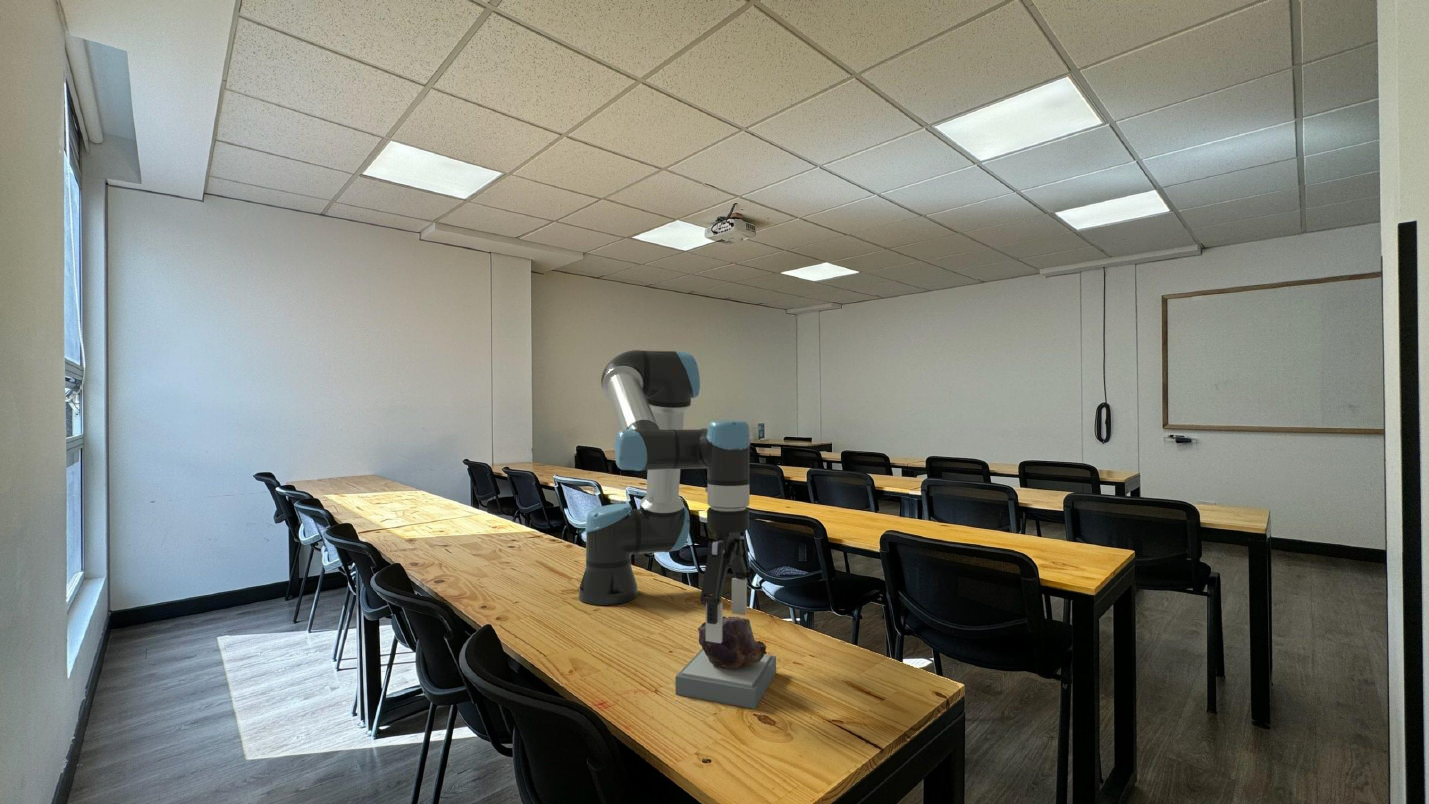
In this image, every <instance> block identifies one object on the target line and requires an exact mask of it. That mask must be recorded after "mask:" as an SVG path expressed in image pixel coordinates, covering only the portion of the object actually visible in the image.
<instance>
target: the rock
mask: <svg viewBox="0 0 1429 804" xmlns="http://www.w3.org/2000/svg"><path fill="white" fill-rule="evenodd" d="M697 631H698V643H699V645H700V646H701V648H703V650H704V652H705V654H706V656H708V659H709V661H710V663H712V664H713V665H714V666H718V667H721V668H722V669H725V668H728V669H731V668H740V667H741V666H742V665H749V664H752V663H758V662H760V661H761V659H762V658H763V657H764V654H766V650H767V645H766V644H765V642H763V641H761V640H758V641H756V639H755V636H754V632H753V630H752V626H751V620H750V619H748V618H744V617H742V618H741V617H739V616H728V617H726V616H725V615H724V616H723V617H722V643H715V642H709V641H706V621H703V623H702V624H701V625H700V626H699V627H698V628H697Z"/></svg>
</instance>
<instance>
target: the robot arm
mask: <svg viewBox="0 0 1429 804" xmlns="http://www.w3.org/2000/svg"><path fill="white" fill-rule="evenodd" d="M600 383H601V384H600V385H601V389H602V392H603V395H604V396H605V397H606V398H607V399H608V400H609V401H610V402H611V406H612V409H613V412H614V416H615V419H616V422H617V426H618V428H619V431H617V433H616V435H615V439H614V457H615V464H616V466H617V468H618V469H619V470H622V471H636V472H640V471H647V478H646V495H645V496H644V497H643V498H642V499H641V500H640V501H639V508H636V509H635V508H634V509H633V508H632V505H631V504H630V503H613V504H607V505H602V506H599V507H596V508H593V509H591V510H590V511H589V512H588V513H587V515H586V522H585V534H586V536H585V537H586V539H585V569H584V572H583V575H582V578H581V582H580V584H579V587H578V599H579V601H581V602H583V603H585V604H589V605H595V606H608V605H609V606H610V605H620V604H624V603H627V602H630V601H633V600H635V598H637V597H638V592H639V591H638V587H639V586H638V583H637V580H636V576H635V573H634V570H633V567H632V555H641V554H654V553H669V552H674V551H679V550H681V549H682V548H683V547H685V545H686V543H687V542H688V537H689V533H690V527H691V526H690V525H691V523H690V512H689V510H688V509H687V507H685V506H684V504H685V503H684V501H683V500H682V499H681V498H679V495H680V493H679V492H680V480H681V470H686V469H687V470H689V469H690V470H691V469H706V471H707V475H706V477H707V478H706V479H707V481H706V482H707V486H706V487H705V488H704V492H705V493H707V505H708V508H707V510H706V527H707V529H708V530H709V531H711V532H714V533H715V539H714V541H708V543H707V556H706V563H705V568H704V569H705V570H704V575H703V582H702V588H701V593H700V597H699V601H700V603H703V604H705V622H706V641H709V642H715V643H722V617H723V613H724V612H723V609H724V608H723V602H721V601H722V595H723V591H724V588H725V583H726V577H727V573H728V569H729V568H731V569H730V570H731V571H732V574H733V578H731V614H734V615H739V616H746V615H747V588H748V587H747V585H748V584H747V582H748V581H747V579H751V578H752V572H751V564H750V563H751V562H750V558H749V551H748V544H747V535H746V534H747V533H746V532H747V531H748V529H749V527H750V510H749V509H748V508H747V507H748V506H749V505H750V463H751V461H750V458H751V456H750V455H751V454H750V451H751V441H752V440H751V438H750V437H751V436H750V426H749V424H748V422H747V421H745V420H712V421H710V422H709V423H708V425H707V428H700V429H684V422H685V412H686V411H687V409H689V408H690V407H691V405H692V399H696V398H697V397H698V396H699V394H700V393H699V392H700V389H701V379H700V371H699V367H698V363H697V360H696V359H695V357H694V356H693V355H692V354H691V353H689V352H683V351H677V350H640V349H632V350H629V351H625V352H622V353H620V354H618V355H616V356H615V357H614V358H612V359H611V360H610V361H609V362H608V363H607V364H606V366H605V368H604V369H603V371H602V373H601V378H600Z"/></svg>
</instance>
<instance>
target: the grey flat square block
mask: <svg viewBox="0 0 1429 804" xmlns="http://www.w3.org/2000/svg"><path fill="white" fill-rule="evenodd" d="M701 648H702V647H701ZM776 674H777V656H776V655H771V654H767V653H765V654H764V657H763V658H762V659H761V661H760V662H758V663H752V664H749V665H742V666H741V667H740V668H731V669H728V668H725V669H722V668H721V667H718V666H714V665H713V664H712V663H710V661H709V659H708V656H706V654H705V652H704V650H703V648H702V649H700V650H699V651H698V653H696V654H695V656H693V658H692V659H691V660H689V662H687V664H685V666H684V667H683V668H682V669H681V670H680V671H679V672H678V673H677V674H676V675H675V682H674V683H675V686H674V687H675V692H674V693H675V694H674V695H677V696H683V697H688V698H694V699H699V700H703V701H704V700H705V701H709V702H715V703H721V704H726V705H730V706H736V707H743V708H747V709H753V710H756V708H757V706H758V704H759V703H760V701H761V699H762V697H764V695H765V693H766V691H767V689H768V687H769V685H770V684H771V682H772V681H773V679H774V677H775V675H776Z"/></svg>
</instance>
